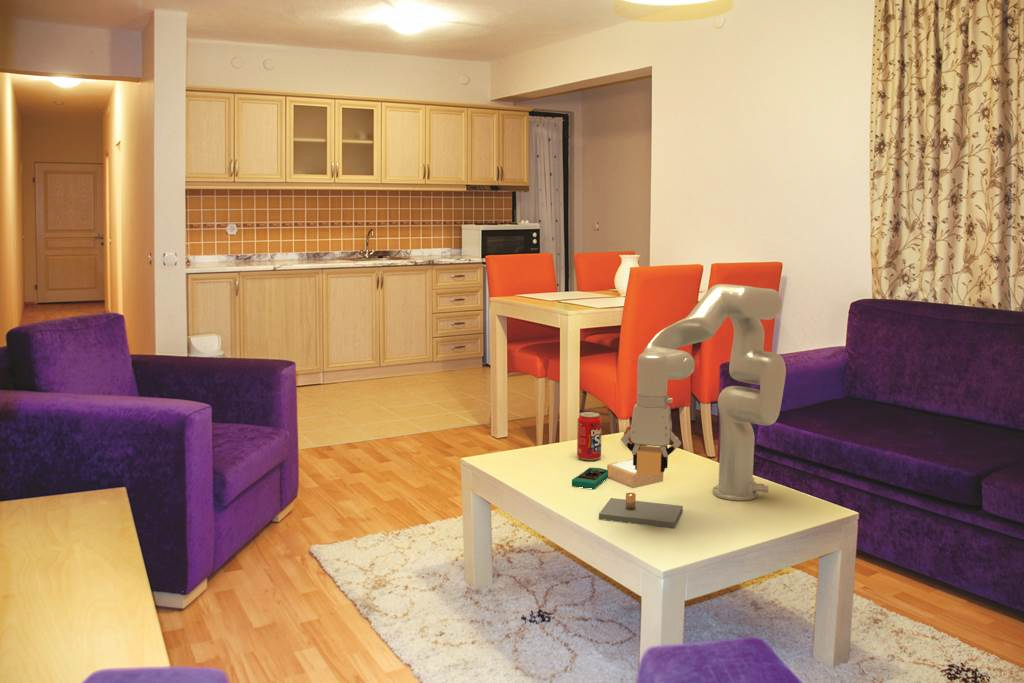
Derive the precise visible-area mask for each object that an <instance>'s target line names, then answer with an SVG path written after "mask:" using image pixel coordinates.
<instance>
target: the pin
mask: <svg viewBox="0 0 1024 683" xmlns="http://www.w3.org/2000/svg"><path fill="white" fill-rule="evenodd" d="M636 495H637V494H636V493H635V492H627V493H625V500H626V509H627V510H635V501H637V500H636V498H637V497H636Z"/></svg>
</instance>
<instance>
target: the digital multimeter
mask: <svg viewBox="0 0 1024 683" xmlns="http://www.w3.org/2000/svg"><path fill="white" fill-rule="evenodd" d="M608 470H609V469H605V468H601V467H588V468H587V469H586V470H584V471H583V472H581V473H579V475H577V476H575V477H574V478H573V479H571V486H572V487H573V486H576V487H575V488H579V487H583V488H582V489H585V488H592V489H591V490H595V489H597V488H598V487H599V486H600V485H601V484H602V482H603V481H604V480H605V481H607V480H608V479H609V478H608ZM607 478H608V479H607ZM606 479H607V480H606ZM605 481H604V482H605ZM604 482H603V483H604ZM599 484H600V485H599ZM598 485H599V486H598ZM597 486H598V487H597ZM596 487H597V488H596Z"/></svg>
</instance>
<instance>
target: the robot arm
mask: <svg viewBox="0 0 1024 683" xmlns="http://www.w3.org/2000/svg"><path fill="white" fill-rule="evenodd" d="M782 307H783V300H782V297H781V295H780V293H779V292H778V291H777V290H775V289H774V288H763V287H756V286H755V287H754V286H749V285H741V284H740V285H738V284H730V283H729V284H728V283H717V284H715V285H712V286H711V287H710V288H709V289H708V290H707V291H706V292H705V294H704V295H703V296H702V298H700V300H698V303H696V305H695V306H694V307H693V309H692V310H691V311H690V313H689V314H688V315H687V316H686V317H684V318H683V319H680V320H678V321H676V322H674V323H671V324H670V325H669V326H666V327H665V328H662V329H661V330H660V331H659V332H657V334H655V335H654V336H653V338H652V339H651V340H650V341H649V342H648V343H647V345H646V347H645V348H644V349H643V351H642V353H640V354H639V355H638V357H637V379H636V380H637V382H636V388H637V389H636V391H637V392H636V403H635V404H634V406H633V410H632V415H631V424H630V425H631V429H630V430H629V431H628V432H627V433H626V434H625V435H624V434H623V435H624V436H622V437H620V441H621V442H622V443H623V444H624V445H625V446H626V447H627V449H628V450H629V451H630V452H631V455H632V456H633V457H632V465H633V466H634V470H636V471H637V451H638V449H639V447H640V445H643V446H644V445H646V446H653V447H660V448H661V451H662V458H661V472H662V473H664V472H665V471H666V469H668V459H669V458H668V457H669V456H670V455H671V454H672V453H673V452H674V451H675V450H677V449H678V448H679V447H680V446H681V445H682V441H681V440H680V439H679V438H678V437H677V435H676V434H675V433H674V432H673V430H672V429H673V427H672V426H673V423H672V413H671V412H672V411H671V406H669V405H668V404H673V397H669V396H668V381H669V380H685V379H686V378H688V377H690V376H691V375H692V374H693V373H694V370H695V366H696V365H695V364H696V363H695V360H694V357H693V356H692V355H691V353H689V352H687V351H685V350H679V349H678V348H682V347H684V346H689V345H692V344H693V345H694V344H697V343H698V344H699V343H701V342H704V341H709V340H710V339H712V338H713V336H715V334H716V333H717V331H718V330H719V328H721V326H722V325H723V323H724V322H725V321H726V319H727V318H729V319H730V321H731V323H732V326H733V340H732V345H731V351H730V352H731V353H730V358H729V366H728V367H729V369H728V372H729V375H730V377H731V378H732V379H733V380H735V381H737V382H741V383H746V384H752V385H753V384H754V385H758V386H759V389H756V388H752V387H747V386H740V385H739V386H738V385H730V386H726V387H725V388H723V389H722V390H721V392H720V393H719V395H718V399H717V407H718V414H719V420H720V421H719V424H720V432H719V433H720V438H719V458H718V459H719V462H718V484H717V485H715V486H714V487H712V494H713V495H714V496H716V497H718V498H721V499H725V500H730V501H738V502H739V501H743V502H744V501H750V500H755V499H756V498H757V497H758V492H760V493H766V494H767V493H768V494H769V485H766V484H765V483H757V482H756V481H755V478H754V476H753V475H754V458H755V457H754V455H755V433H754V432H755V431H754V428H753V426H752V424H755V425H761V426H771V425H773V424H774V423H775V422H776V421H777V420H778V418H779V416H780V413H781V412H780V411H781V407H782V401H783V396H784V388H785V382H786V375H787V367H786V362H785V360H784V358H783V357H782V356H781V355H780V354H779V353H776V352H771V351H765V350H764V346H765V344H764V343H765V337H766V336H765V335H766V333H765V329H764V325H763V323H762V322H761V320H768V321H770V320H773V319H775V318H776V317H777V316H779V314H780V313H781V310H782ZM630 436H631V442H632V443H634V444H635V446H634V445H633V444H632V443H631V442H630V441H629V440H628V438H629V437H630ZM671 441H672V442H673V444H672V445H670V442H671ZM668 445H670V446H669V447H668Z"/></svg>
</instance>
